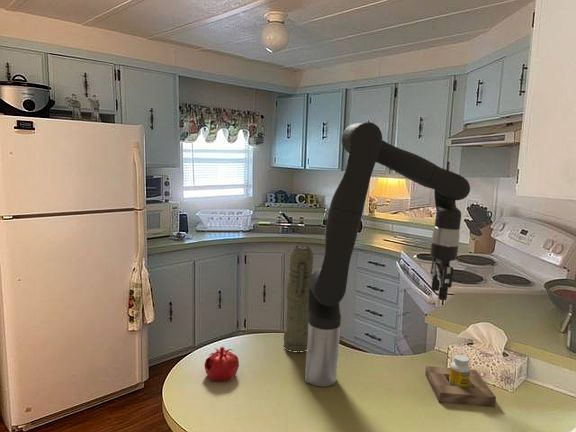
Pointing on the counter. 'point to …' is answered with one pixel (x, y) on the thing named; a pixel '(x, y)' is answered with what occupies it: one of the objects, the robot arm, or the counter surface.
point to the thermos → (298, 299)
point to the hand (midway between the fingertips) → (438, 294)
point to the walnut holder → (459, 388)
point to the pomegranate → (221, 365)
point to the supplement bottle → (459, 371)
